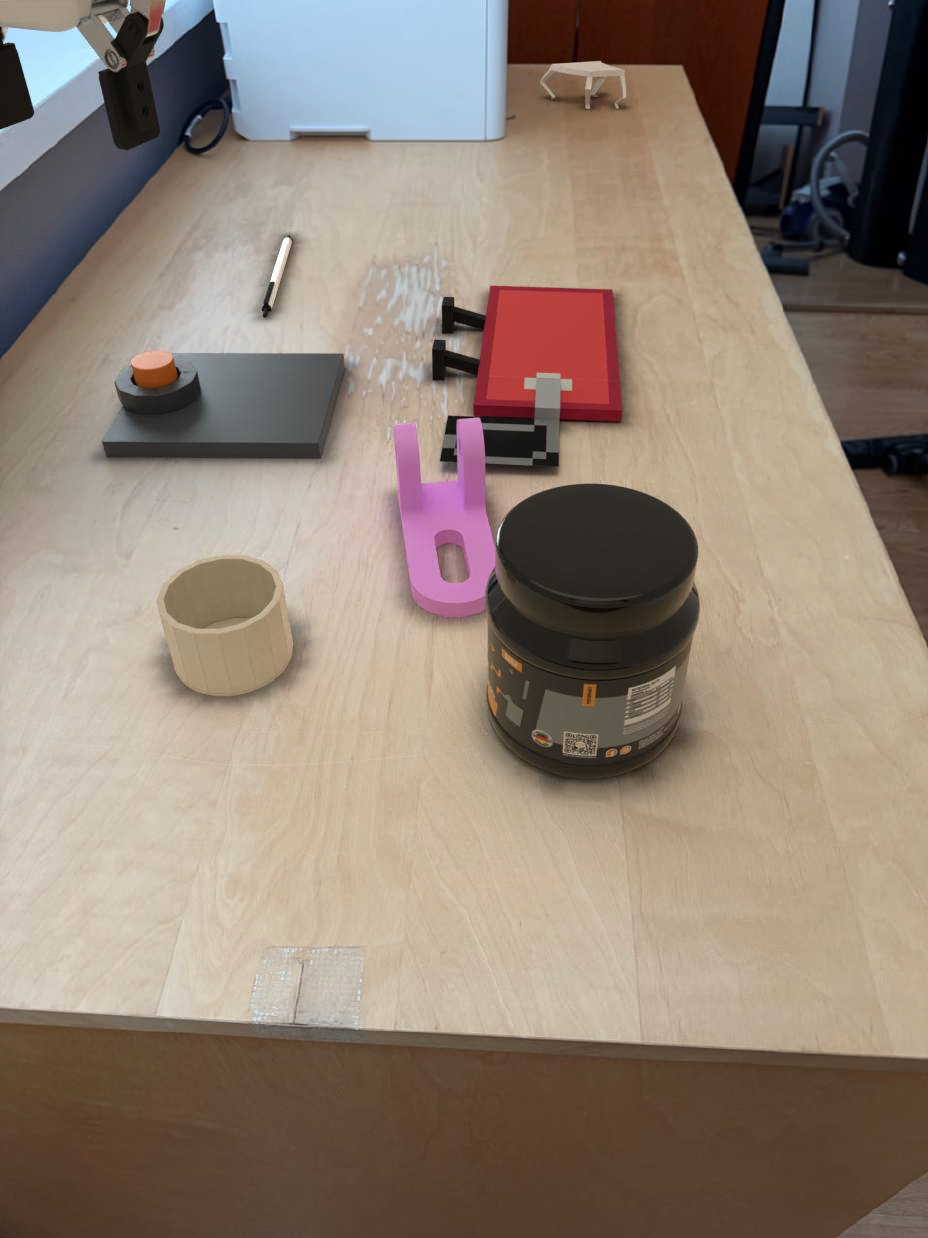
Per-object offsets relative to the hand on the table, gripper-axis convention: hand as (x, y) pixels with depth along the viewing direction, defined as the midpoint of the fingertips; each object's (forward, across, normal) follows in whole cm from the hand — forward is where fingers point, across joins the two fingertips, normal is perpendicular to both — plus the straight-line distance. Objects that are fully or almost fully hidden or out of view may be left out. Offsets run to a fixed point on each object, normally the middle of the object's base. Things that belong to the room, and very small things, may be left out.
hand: (74, 132), depth 60 cm
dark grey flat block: (+23, 0, +9) cm, 25 cm away
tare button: (+20, -5, +7) cm, 22 cm away
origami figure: (+24, -8, +98) cm, 102 cm away
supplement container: (+24, +37, -9) cm, 45 cm away
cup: (+23, +17, -14) cm, 32 cm away
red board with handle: (+24, +18, +24) cm, 38 cm away
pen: (+24, -12, +32) cm, 42 cm away
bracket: (+24, +24, 0) cm, 33 cm away
